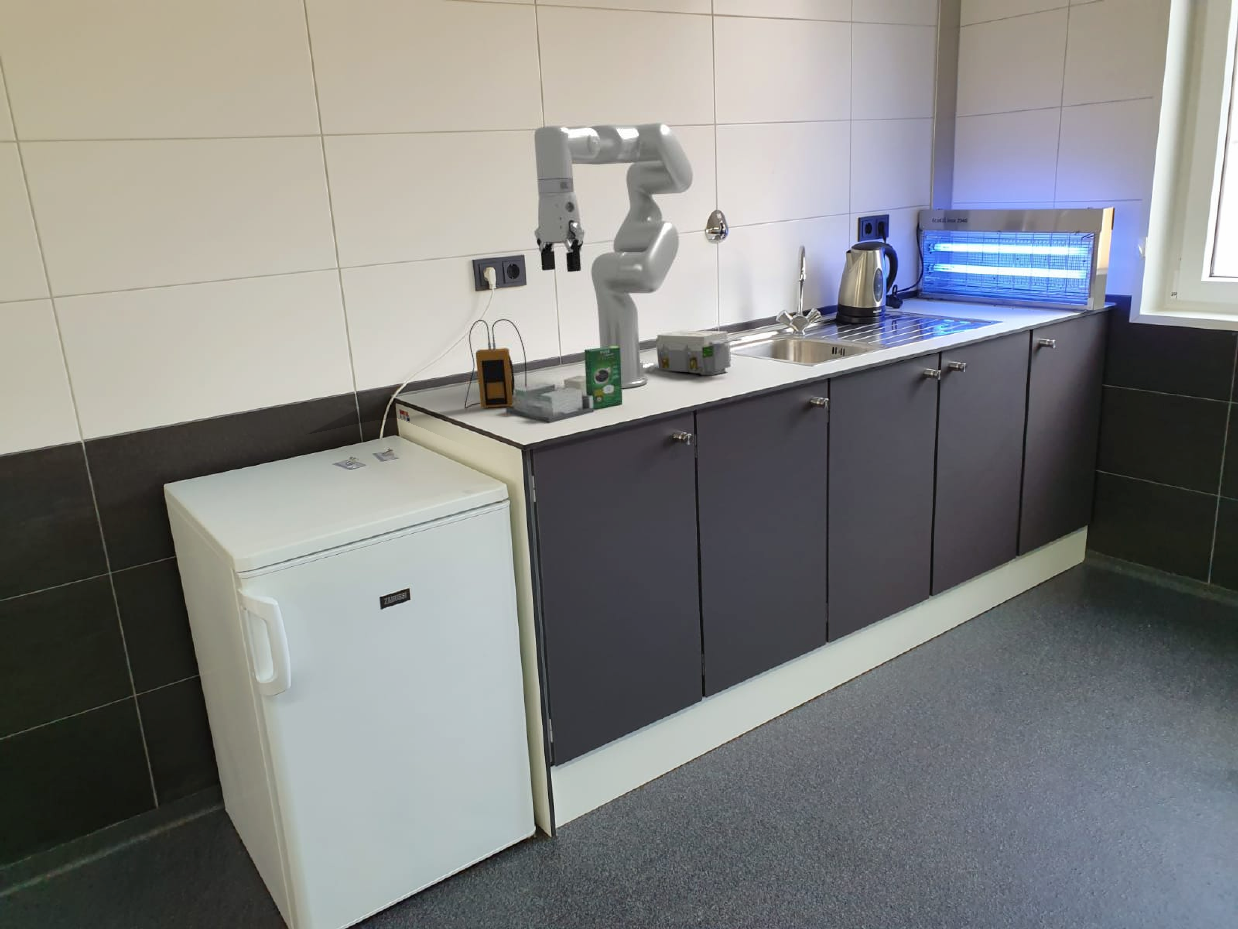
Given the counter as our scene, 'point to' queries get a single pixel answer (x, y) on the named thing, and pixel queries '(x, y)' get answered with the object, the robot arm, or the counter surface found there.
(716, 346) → the grey electrical enclosure
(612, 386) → the coffee box
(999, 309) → the counter surface
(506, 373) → the multimeter
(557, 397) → the rail base
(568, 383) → the block
